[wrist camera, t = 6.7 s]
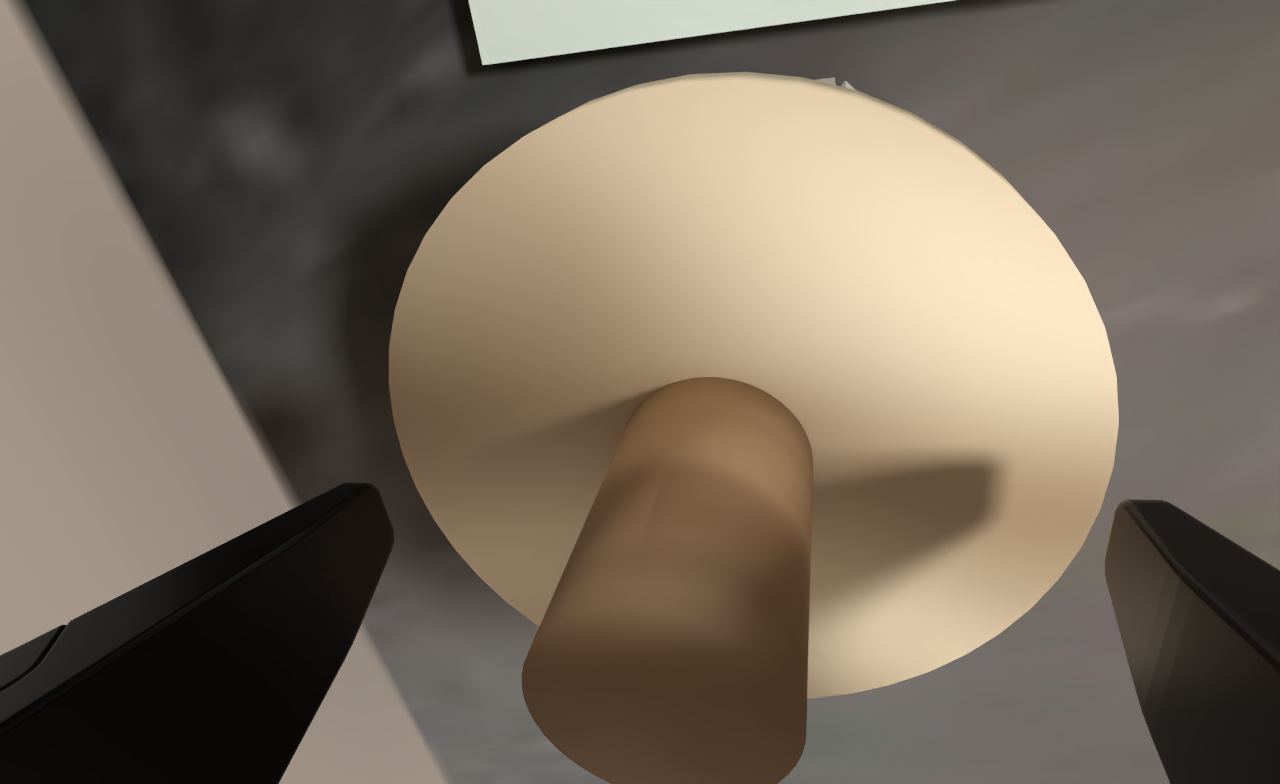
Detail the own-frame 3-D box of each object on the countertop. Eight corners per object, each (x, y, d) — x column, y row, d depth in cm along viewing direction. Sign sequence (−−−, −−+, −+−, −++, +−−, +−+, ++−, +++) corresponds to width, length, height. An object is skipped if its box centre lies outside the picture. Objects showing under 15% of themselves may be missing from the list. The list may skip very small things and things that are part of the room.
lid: (1043, 684, 12) (1159, 1063, 8) (493, 638, 14) (360, 908, 10) (1172, 17, 7) (1622, 84, 3) (329, 117, 10) (-37, 229, 6)
